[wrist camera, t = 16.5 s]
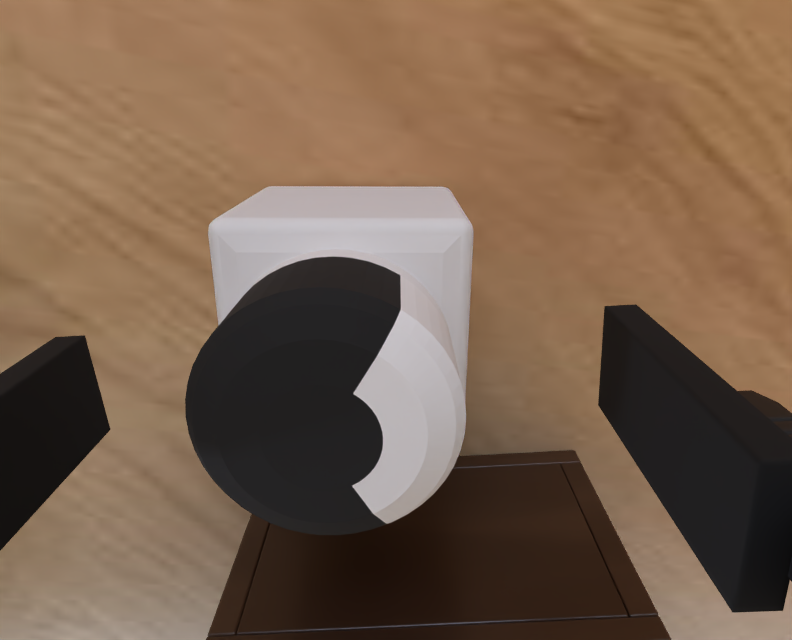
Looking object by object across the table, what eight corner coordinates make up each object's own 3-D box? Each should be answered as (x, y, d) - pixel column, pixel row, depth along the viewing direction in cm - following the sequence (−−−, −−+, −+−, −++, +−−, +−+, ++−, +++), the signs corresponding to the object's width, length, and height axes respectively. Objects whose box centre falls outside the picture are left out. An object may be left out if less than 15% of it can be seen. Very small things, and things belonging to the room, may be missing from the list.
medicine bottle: (276, 358, 24) (170, 576, 13) (262, 184, 22) (117, 269, 10) (446, 358, 24) (487, 578, 13) (452, 185, 22) (510, 270, 10)
